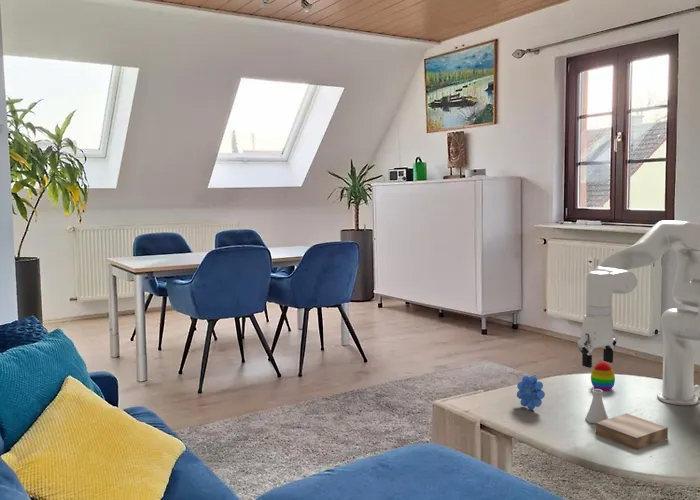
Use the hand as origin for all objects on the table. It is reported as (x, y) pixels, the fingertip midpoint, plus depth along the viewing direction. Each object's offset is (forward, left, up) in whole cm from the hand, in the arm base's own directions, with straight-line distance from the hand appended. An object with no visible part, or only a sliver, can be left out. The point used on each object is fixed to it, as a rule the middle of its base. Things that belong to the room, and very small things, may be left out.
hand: (597, 364), depth 205 cm
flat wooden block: (+2, +14, -19) cm, 24 cm away
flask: (0, 0, -19) cm, 19 cm away
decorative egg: (-27, -20, -19) cm, 38 cm away
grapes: (+9, -19, -19) cm, 28 cm away
